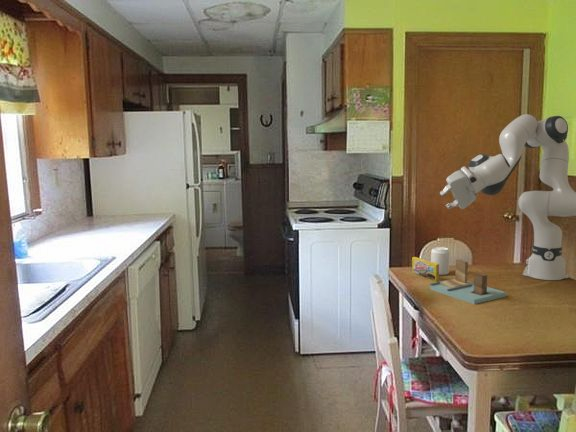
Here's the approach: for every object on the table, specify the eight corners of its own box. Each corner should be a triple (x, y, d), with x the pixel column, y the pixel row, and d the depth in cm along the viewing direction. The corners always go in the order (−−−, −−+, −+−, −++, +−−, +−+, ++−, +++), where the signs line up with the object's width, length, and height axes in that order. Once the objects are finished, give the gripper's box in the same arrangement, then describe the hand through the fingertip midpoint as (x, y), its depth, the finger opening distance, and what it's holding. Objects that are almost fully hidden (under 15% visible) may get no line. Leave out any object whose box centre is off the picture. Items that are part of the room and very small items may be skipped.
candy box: (411, 274, 240) (411, 257, 239) (414, 273, 241) (415, 256, 240) (435, 282, 226) (436, 264, 225) (439, 281, 227) (440, 263, 226)
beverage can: (436, 270, 246) (437, 246, 244) (451, 273, 240) (452, 248, 238) (427, 273, 240) (427, 248, 239) (442, 276, 234) (443, 251, 233)
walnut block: (478, 294, 204) (479, 273, 203) (486, 297, 201) (487, 274, 200) (473, 296, 202) (474, 274, 201) (481, 298, 199) (482, 276, 198)
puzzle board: (460, 284, 222) (460, 277, 221) (505, 298, 202) (506, 290, 201) (429, 291, 213) (430, 283, 212) (474, 306, 193) (474, 297, 193)
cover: (455, 280, 218) (455, 258, 217) (469, 285, 211) (470, 262, 210) (439, 284, 214) (440, 261, 212) (454, 288, 207) (455, 265, 205)
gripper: (474, 191, 220) (446, 209, 223) (462, 163, 206) (433, 182, 208) (482, 201, 216) (454, 219, 218) (471, 172, 202) (441, 192, 204)
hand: (443, 201), depth 213 cm, fingers open, 8 cm apart
